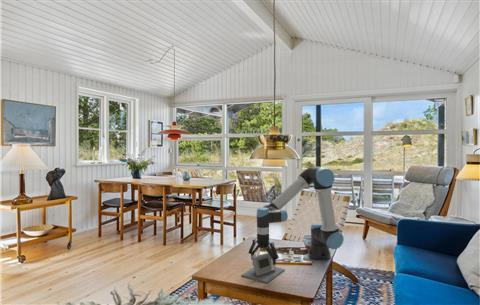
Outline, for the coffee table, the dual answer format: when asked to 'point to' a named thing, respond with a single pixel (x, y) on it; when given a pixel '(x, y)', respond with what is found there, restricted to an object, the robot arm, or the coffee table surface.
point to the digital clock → (262, 264)
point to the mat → (265, 277)
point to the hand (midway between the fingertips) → (263, 267)
